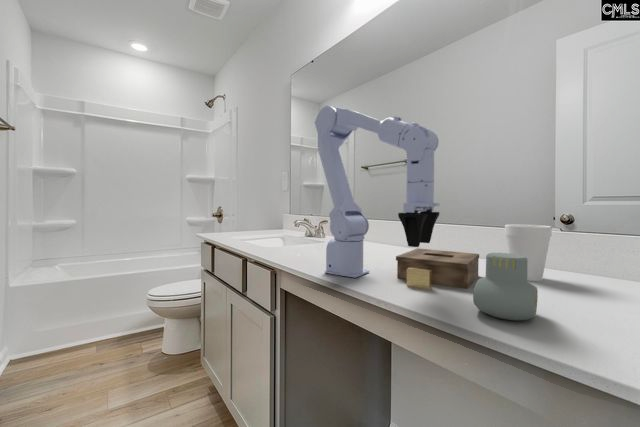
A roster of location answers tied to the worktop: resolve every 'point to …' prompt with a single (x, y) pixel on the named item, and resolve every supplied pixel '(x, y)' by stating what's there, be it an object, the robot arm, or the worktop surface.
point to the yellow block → (419, 278)
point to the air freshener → (506, 288)
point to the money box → (441, 266)
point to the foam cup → (530, 246)
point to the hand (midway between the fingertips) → (419, 244)
